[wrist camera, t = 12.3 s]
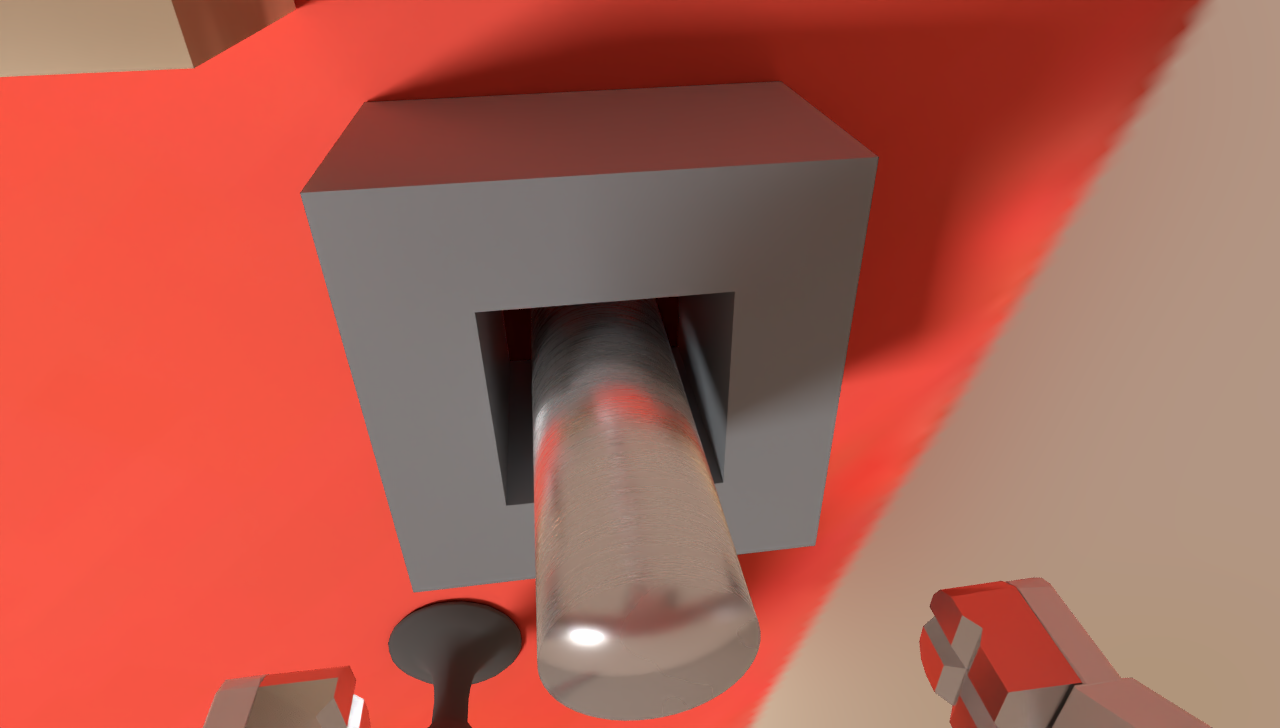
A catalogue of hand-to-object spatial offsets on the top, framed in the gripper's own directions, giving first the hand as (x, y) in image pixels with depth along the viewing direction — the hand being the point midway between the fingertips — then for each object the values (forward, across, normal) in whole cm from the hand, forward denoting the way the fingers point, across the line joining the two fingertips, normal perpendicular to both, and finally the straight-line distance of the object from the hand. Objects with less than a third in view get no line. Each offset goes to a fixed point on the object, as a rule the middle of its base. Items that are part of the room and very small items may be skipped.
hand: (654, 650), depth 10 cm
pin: (+12, 0, 0) cm, 12 cm away
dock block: (+12, 0, 0) cm, 12 cm away
